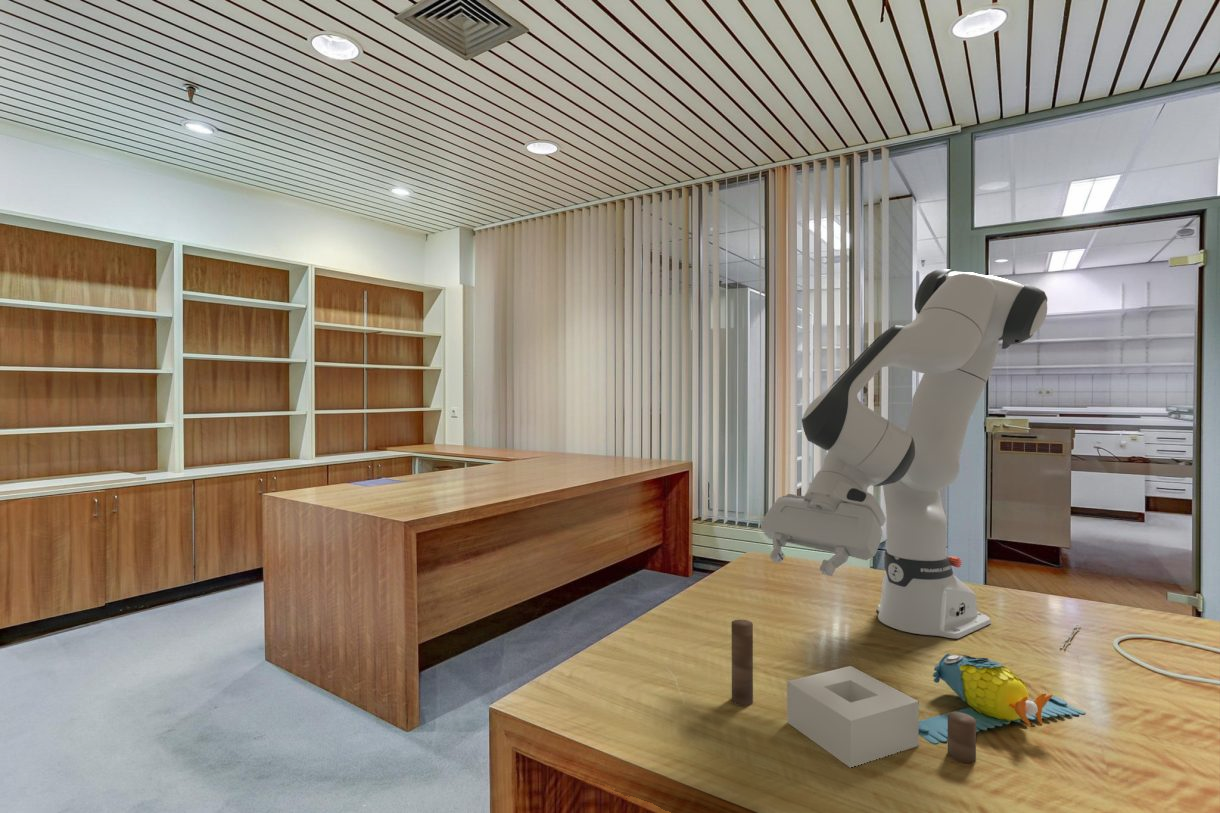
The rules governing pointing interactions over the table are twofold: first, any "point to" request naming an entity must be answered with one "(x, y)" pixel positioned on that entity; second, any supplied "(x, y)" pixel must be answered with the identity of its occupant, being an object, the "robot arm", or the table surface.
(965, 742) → the short pin
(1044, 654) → the table surface
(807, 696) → the hole block
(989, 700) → the blue yellow bird figure
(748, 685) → the long pin
